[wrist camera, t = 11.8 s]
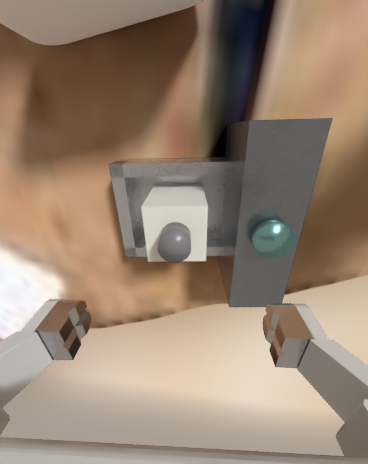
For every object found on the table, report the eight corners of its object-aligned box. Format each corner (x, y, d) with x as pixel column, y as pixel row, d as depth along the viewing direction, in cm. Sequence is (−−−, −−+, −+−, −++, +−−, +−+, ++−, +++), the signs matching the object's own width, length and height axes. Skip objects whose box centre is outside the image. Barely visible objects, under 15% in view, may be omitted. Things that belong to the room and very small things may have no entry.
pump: (201, 183, 21) (210, 216, 13) (201, 226, 23) (208, 276, 15) (154, 184, 21) (134, 217, 13) (158, 226, 23) (143, 276, 15)
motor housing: (278, 122, 19) (346, 116, 11) (255, 259, 26) (286, 317, 18) (115, 127, 20) (63, 124, 11) (136, 260, 27) (114, 317, 19)
